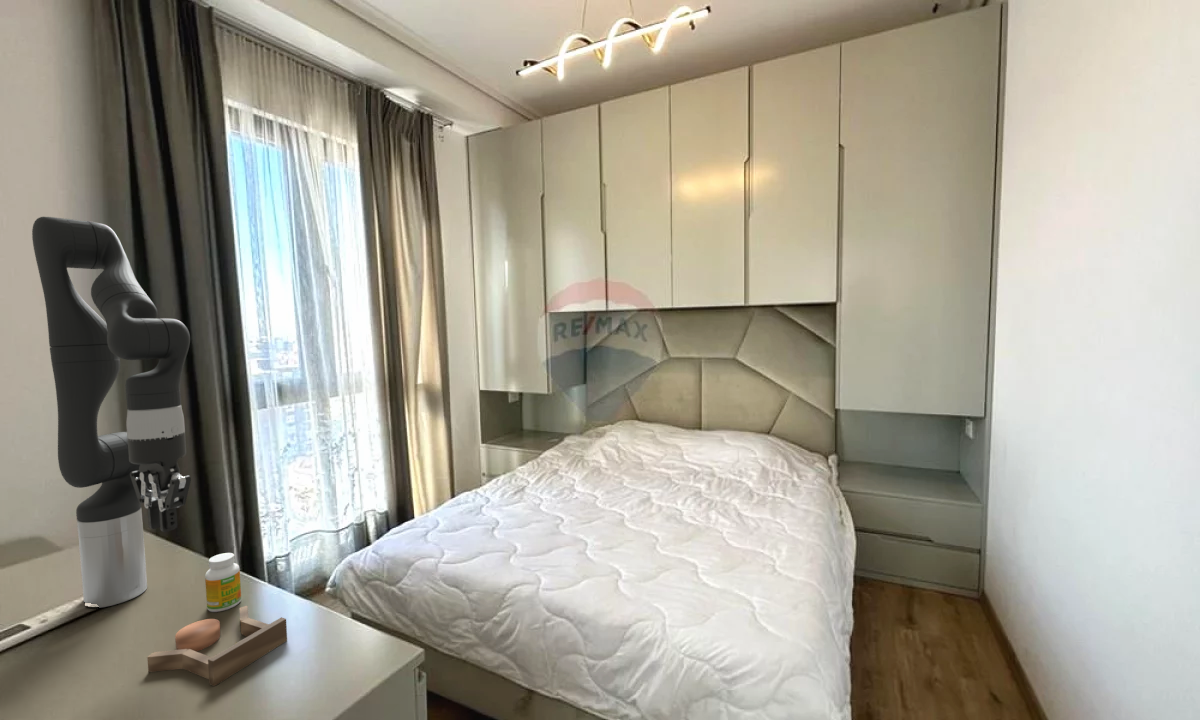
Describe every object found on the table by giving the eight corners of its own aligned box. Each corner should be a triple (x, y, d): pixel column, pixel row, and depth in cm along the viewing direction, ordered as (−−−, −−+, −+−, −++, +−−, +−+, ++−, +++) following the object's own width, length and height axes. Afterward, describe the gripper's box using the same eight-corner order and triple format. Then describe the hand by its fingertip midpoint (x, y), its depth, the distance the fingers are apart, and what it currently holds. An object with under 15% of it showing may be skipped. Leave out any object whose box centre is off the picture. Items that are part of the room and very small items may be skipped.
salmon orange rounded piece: (168, 649, 84) (167, 635, 84) (207, 629, 90) (206, 616, 89) (189, 657, 82) (188, 643, 82) (228, 636, 87) (227, 623, 87)
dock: (146, 671, 78) (144, 647, 78) (246, 617, 93) (244, 597, 92) (200, 694, 73) (198, 669, 73) (297, 634, 88) (296, 612, 87)
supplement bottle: (222, 614, 94) (219, 565, 93) (199, 611, 95) (196, 562, 94) (248, 598, 99) (245, 552, 98) (226, 595, 100) (223, 549, 99)
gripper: (106, 434, 85) (114, 531, 86) (154, 440, 80) (162, 543, 81) (158, 425, 92) (164, 515, 93) (206, 431, 87) (212, 526, 88)
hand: (163, 528), depth 87 cm, fingers open, 3 cm apart
